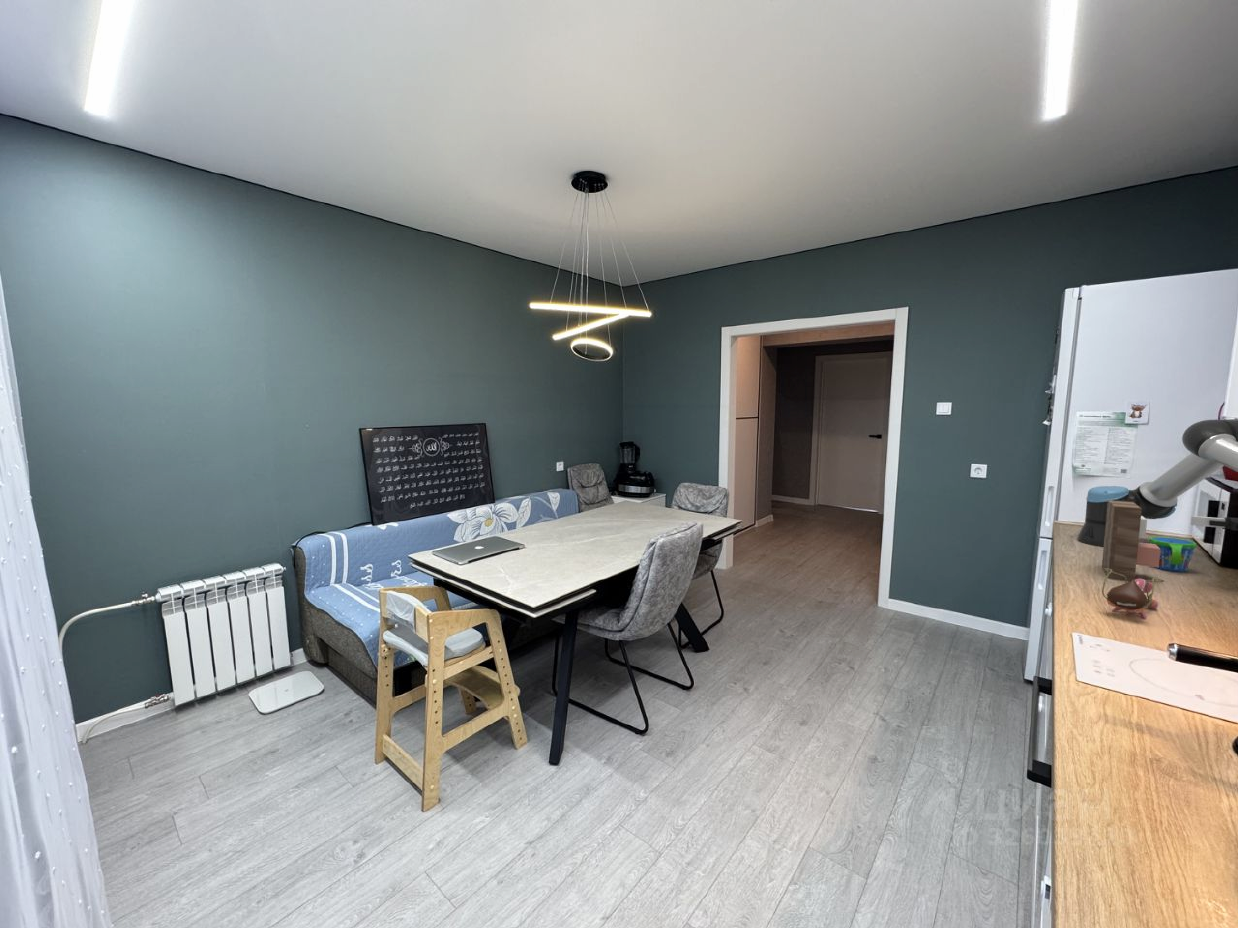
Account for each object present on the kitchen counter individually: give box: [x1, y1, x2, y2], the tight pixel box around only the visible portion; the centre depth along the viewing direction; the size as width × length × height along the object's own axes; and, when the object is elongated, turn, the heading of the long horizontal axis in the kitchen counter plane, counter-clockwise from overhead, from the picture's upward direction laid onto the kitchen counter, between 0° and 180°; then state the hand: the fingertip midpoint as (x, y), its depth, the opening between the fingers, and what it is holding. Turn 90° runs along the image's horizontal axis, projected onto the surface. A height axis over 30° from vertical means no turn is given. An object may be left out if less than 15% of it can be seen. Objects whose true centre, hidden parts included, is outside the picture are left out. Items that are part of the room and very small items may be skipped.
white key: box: [1139, 516, 1148, 539], centre depth 160 cm, size 7×5×6 cm
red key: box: [1136, 542, 1160, 568], centre depth 159 cm, size 7×5×6 cm
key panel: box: [1101, 500, 1142, 582], centre depth 162 cm, size 14×6×24 cm, turn 142°
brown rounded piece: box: [1101, 568, 1165, 620], centre depth 133 cm, size 11×15×17 cm
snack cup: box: [1149, 536, 1197, 573], centre depth 167 cm, size 16×10×10 cm
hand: (1191, 520), depth 152 cm, fingers closed
